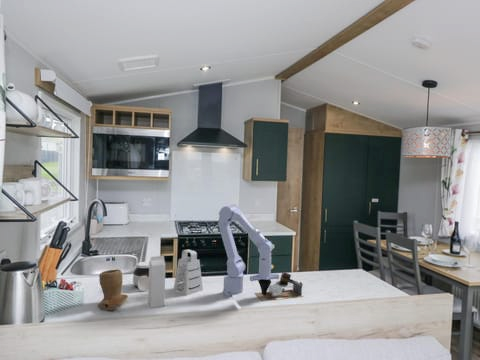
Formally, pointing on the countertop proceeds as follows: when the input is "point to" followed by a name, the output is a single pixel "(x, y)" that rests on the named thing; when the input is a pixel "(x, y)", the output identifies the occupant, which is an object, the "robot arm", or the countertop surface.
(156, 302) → the milk
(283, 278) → the mechanical counter
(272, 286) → the brushed steel box
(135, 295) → the countertop surface
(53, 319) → the countertop surface
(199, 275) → the grater
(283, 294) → the rail board
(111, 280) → the brown boot
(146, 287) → the spread jar
